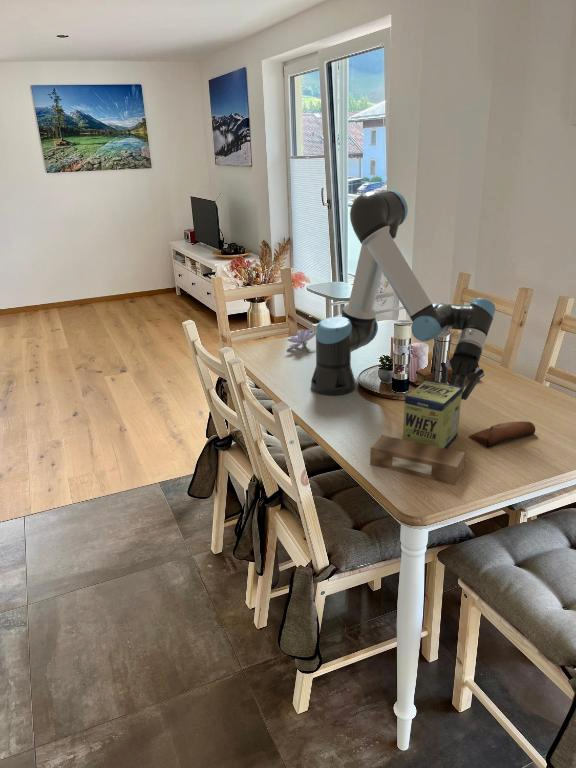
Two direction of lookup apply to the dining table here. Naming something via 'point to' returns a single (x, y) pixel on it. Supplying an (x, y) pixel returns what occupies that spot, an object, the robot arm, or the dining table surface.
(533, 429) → the sunglasses case
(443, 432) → the protein box
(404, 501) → the dining table surface
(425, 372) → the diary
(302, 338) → the water lily
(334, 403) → the dining table surface
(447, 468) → the display riser
